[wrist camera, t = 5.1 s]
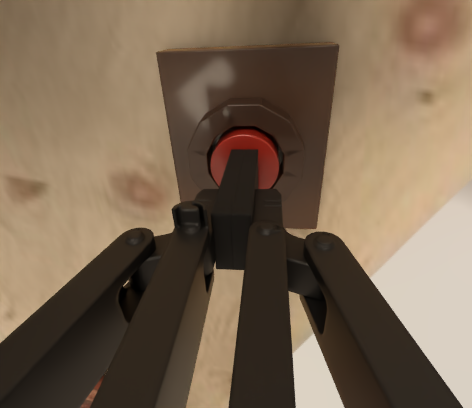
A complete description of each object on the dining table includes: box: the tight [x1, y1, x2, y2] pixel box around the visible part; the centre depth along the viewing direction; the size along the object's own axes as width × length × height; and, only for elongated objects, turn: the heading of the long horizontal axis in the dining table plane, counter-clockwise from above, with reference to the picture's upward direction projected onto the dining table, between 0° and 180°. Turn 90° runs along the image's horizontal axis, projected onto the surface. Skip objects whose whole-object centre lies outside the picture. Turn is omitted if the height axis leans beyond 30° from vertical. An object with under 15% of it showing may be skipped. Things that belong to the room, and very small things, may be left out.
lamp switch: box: [210, 126, 279, 189], centre depth 18 cm, size 4×4×2 cm
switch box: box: [156, 42, 339, 229], centre depth 19 cm, size 12×10×4 cm
